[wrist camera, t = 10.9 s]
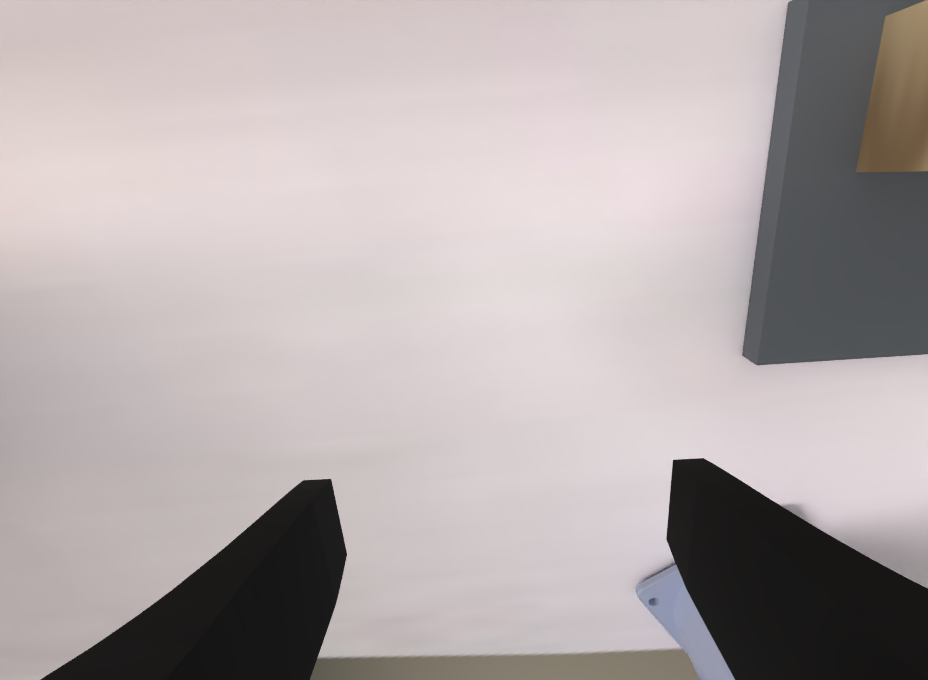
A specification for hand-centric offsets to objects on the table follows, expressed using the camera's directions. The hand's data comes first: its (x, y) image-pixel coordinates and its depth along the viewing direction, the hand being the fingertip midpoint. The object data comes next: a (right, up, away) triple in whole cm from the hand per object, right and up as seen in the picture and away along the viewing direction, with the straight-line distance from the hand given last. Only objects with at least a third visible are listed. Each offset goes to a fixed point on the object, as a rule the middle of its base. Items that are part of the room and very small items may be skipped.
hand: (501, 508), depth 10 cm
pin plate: (+14, +9, +6) cm, 18 cm away
